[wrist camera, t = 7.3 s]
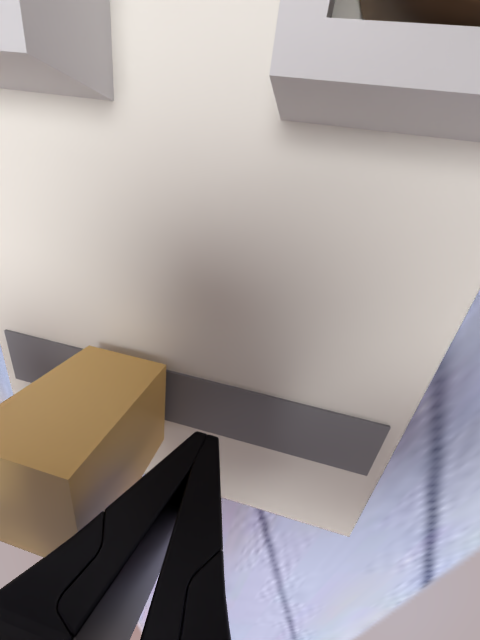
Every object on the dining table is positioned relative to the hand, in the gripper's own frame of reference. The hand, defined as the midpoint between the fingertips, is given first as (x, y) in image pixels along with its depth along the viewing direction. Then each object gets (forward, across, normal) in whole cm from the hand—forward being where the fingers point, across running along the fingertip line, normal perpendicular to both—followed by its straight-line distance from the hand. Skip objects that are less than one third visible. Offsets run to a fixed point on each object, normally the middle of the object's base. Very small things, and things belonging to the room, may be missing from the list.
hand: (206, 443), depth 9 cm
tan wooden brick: (+1, +3, 0) cm, 4 cm away
